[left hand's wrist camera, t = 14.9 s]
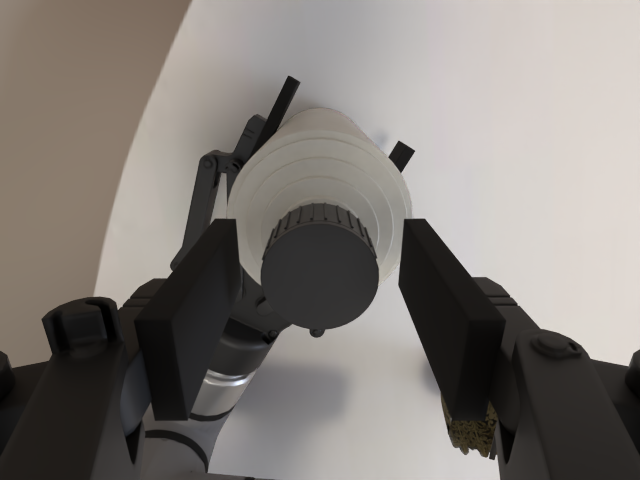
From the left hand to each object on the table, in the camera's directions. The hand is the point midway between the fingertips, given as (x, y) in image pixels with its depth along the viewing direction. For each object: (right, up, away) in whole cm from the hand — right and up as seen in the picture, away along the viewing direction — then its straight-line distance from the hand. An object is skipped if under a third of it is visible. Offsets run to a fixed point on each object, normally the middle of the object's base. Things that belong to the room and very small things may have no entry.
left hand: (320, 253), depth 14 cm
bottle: (0, +8, +20) cm, 21 cm away
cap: (0, -1, -2) cm, 2 cm away
